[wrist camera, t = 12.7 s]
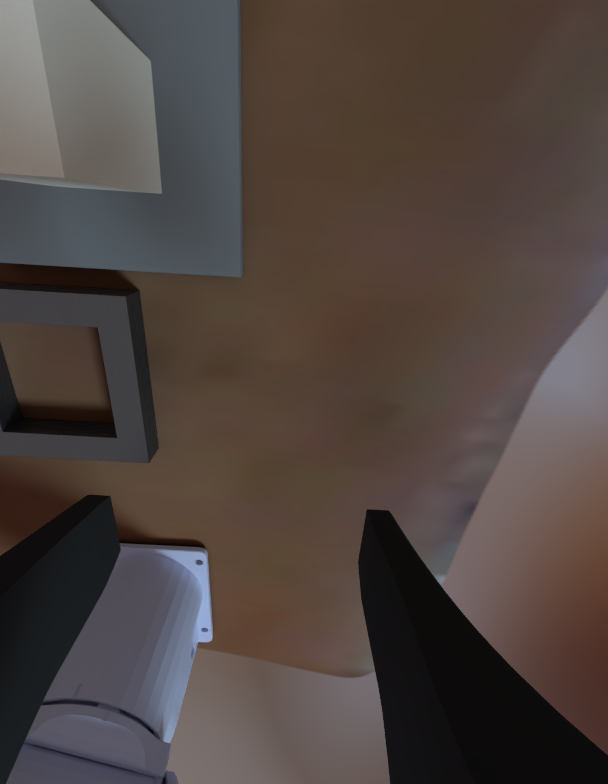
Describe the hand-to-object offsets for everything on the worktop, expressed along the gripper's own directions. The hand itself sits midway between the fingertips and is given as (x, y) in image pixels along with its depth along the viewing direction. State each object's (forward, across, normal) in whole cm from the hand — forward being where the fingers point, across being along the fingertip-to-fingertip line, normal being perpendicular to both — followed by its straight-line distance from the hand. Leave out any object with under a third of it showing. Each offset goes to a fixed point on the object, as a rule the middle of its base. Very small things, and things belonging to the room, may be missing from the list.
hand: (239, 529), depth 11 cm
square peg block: (+10, +7, -11) cm, 16 cm away
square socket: (+10, +11, 0) cm, 15 cm away
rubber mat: (+10, +7, -11) cm, 17 cm away
